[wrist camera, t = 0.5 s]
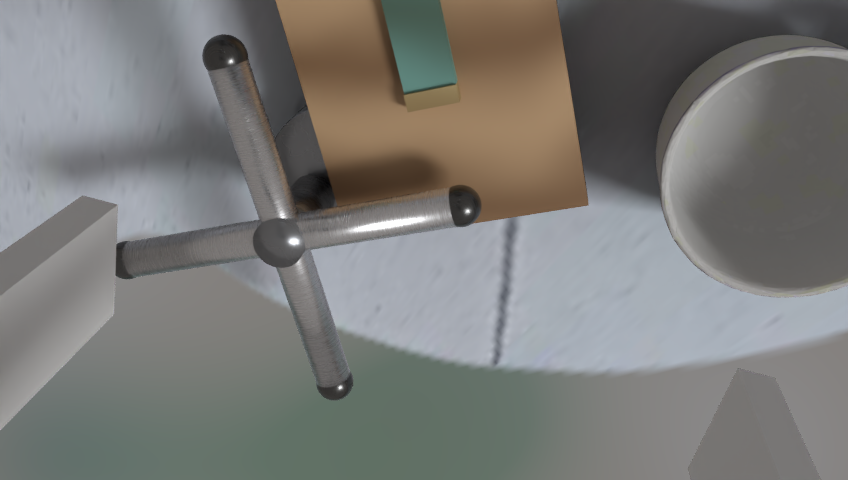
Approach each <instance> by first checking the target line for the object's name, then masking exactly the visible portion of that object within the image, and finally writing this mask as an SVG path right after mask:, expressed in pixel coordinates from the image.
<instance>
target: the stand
mask: <svg viewBox="0 0 848 480" xmlns="http://www.w3.org/2000/svg"><path fill="white" fill-rule="evenodd" d="M275 1H276V4H277V7H278V11H279V14H280V17H281V21H282V24H283V27H284V30H285V34H286V37H287V40H288V44H289V47H290V50H291V54H292V57H293V60H294V64H295V67H296V70H297V74H298V77H299V80H300V83H301V87H302V90H303V93H304V97H305V100H306V103H307V107H308V110H309V113H310V117H311V120H312V123H313V127H314V130H315V133H316V136H317V140H318V143H319V146H320V150H321V153H322V156H323V160H324V163H325V166H326V170H327V173H328V176H329V180H330V183H331V186H332V189H333V193H334V196H335V199H336V203H337V206H342V205H348V204H354V203H360V202H366V201H372V200H377V199H383V198H389V197H395V196H401V195H407V194H413V193H419V192H425V191H431V190H437V189H443V188H448V187H452V186H455V185H466V186H469V187H471V188H473V189H474V190H475V191H476V192H477V193H478V195H479V197H480V199H481V204H482V208H481V213H480V215H479V217H478V218H477V220H476V221H475V222H474V223H479V222H485V221H492V220H498V219H504V218H511V217H517V216H524V215H530V214H536V213H543V212H549V211H555V210H562V209H568V208H574V207H581V206H587V205H588V197H587V189H586V182H585V176H584V170H583V164H582V157H581V151H580V145H579V139H578V132H577V126H576V120H575V114H574V107H573V101H572V95H571V89H570V82H569V76H568V70H567V64H566V57H565V51H564V45H563V39H562V32H561V26H560V20H559V14H558V7H557V1H556V0H275ZM472 224H473V223H472Z"/></svg>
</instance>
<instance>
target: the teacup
mask: <svg viewBox="0 0 848 480" xmlns="http://www.w3.org/2000/svg"><path fill="white" fill-rule="evenodd" d="M656 169H657V177H658V182H659V187H660V198H661V206H662V210H663V214H664V217H665V220H666V223H667V226H668V228H669V230H670V233H671V235H672V237H673V239H674V240H675V242H676V243H677V245H678V246H679V248H680V249H681V250H682V252H683V253H684V254H685V255H686V256H687V258H688V259H689V260H690V261H691V262H692V263H693V264H694V265H695V266H696V267H697V268H699V269H700V270H701V271H703V272H704V273H705V274H706V275H708V276H709V277H711V278H713V279H715V280H717V281H718V282H720V283H723V284H725V285H727V286H729V287H731V288H734V289H738V290H740V291H743V292H748V293H752V294H755V295H762V296H769V297H801V296H812V295H817V294H822V293H825V292H829V291H833V290H837V289H840V288H843V287H845V286H848V49H847V48H845V47H842V46H840V45H837V44H834V43H832V42H829V41H825V40H821V39H817V38H813V37H807V36H799V35H776V36H767V37H761V38H756V39H752V40H748V41H745V42H742V43H739V44H737V45H734V46H732V47H730V48H728V49H726V50H724V51H722V52H720V53H718V54H716V55H715V56H713V57H712V58H710V59H709V60H707V61H706V62H704V63H703V64H702V65H701V66H700V67H698V68H697V69H696V70H695V71H694V72H693V73H691V74H690V75H689V76H688V78H687V79H686V80H685V81H684V82H683V83H682V84H681V86H680V87H679V89H678V90H677V91H676V93H675V94H674V96H673V98H672V99H671V101H670V102H669V104H668V107H667V109H666V111H665V113H664V116H663V118H662V121H661V124H660V128H659V131H658V137H657V143H656Z"/></svg>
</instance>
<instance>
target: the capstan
mask: <svg viewBox="0 0 848 480" xmlns="http://www.w3.org/2000/svg"><path fill="white" fill-rule="evenodd" d="M202 56H203V62H204V65H205V67H206V69H207V70H208V73H209V76H210V79H211V82H212V85H213V88H214V90H215V93H216V96H217V99H218V102H219V105H220V108H221V111H222V113H223V116H224V119H225V122H226V125H227V128H228V131H229V133H230V136H231V139H232V142H233V145H234V148H235V151H236V154H237V156H238V159H239V162H240V165H241V168H242V171H243V174H244V177H245V179H246V182H247V185H248V188H249V191H250V194H251V197H252V199H253V202H254V205H255V208H256V211H257V214H258V217H259V220H253V221H247V222H242V223H236V224H230V225H224V226H218V227H212V228H206V229H200V230H194V231H188V232H182V233H177V234H171V235H165V236H159V237H153V238H147V239H141V240H135V241H124V242H120V243H118V244H116V272H115V276H117V277H119V278H122V279H133V278H136V277H140V276H146V275H152V274H159V273H166V272H172V271H178V270H185V269H191V268H197V267H203V266H210V265H217V264H223V263H229V262H236V261H242V260H249V259H255V258H261V259H262V260H263V261H264V262H265V263H267V264H269V265H271V266H274V267H276V268H277V271H278V274H279V277H280V280H281V283H282V286H283V288H284V291H285V294H286V297H287V300H288V303H289V306H290V308H291V311H292V314H293V317H294V320H295V323H296V326H297V329H298V331H299V334H300V337H301V340H302V342H303V346H304V349H305V352H306V354H307V357H308V360H309V363H310V366H311V369H312V372H313V374H314V377H315V380H316V385H317V389H318V391H319V393H320V394H321V395H322V396H323V397H324V398H326V399H329V400H340V399H343V398H344V397H346V396H347V395H348V394H349V393H350V391H351V389H352V386H353V376H352V374H351V372H350V370H349V367H348V364H347V361H346V358H345V355H344V352H343V348H342V346H341V342H340V340H339V336H338V333H337V330H336V327H335V324H334V321H333V318H332V315H331V311H330V308H329V305H328V302H327V299H326V296H325V293H324V290H323V287H322V284H321V281H320V278H319V275H318V272H317V268H316V265H315V262H314V259H313V256H312V253H311V250H312V249H319V248H325V247H331V246H338V245H344V244H351V243H357V242H363V241H370V240H376V239H382V238H389V237H395V236H402V235H408V234H414V233H421V232H427V231H433V230H440V229H446V228H453V227H465V226H469V225H470V224H472V223H474V222H475V221H476V220H477V218H478V217H479V215H480V213H481V208H482V204H481V199H480V197H479V195H478V193H477V192H476V191H475V190H474V189H473V188H471V187H469V186H466V185H455V186H452V187H448V188H443V189H437V190H431V191H425V192H419V193H413V194H407V195H401V196H395V197H389V198H383V199H377V200H372V201H366V202H360V203H354V204H348V205H342V206H337V203H336V199H335V196H334V193H333V189H332V186H331V183H330V180H329V176H328V173H327V170H326V166H325V163H324V160H323V156H322V153H321V150H320V146H319V143H318V140H317V136H316V133H315V130H314V127H313V123H312V120H311V117H310V113H309V110H308V107H307V105H306V106H305V107H304V108H303V109H301V110H300V111H299V112H298V113H297V114H296V115H295V116H294V117H293V118H292V119H291V120H290V121H289V122H288V123H287V124H286V125H285V126H284V127H283V128H282V129H281V130H280V132H279V133H278V135H277V136H276V138H275V139H274V136H273V133H272V130H271V127H270V124H269V121H268V118H267V115H266V112H265V109H264V105H263V102H262V99H261V96H260V93H259V90H258V87H257V84H256V81H255V78H254V75H253V72H252V69H251V65H250V62H249V59H248V53H247V50H246V48H245V46H244V44H243V43H242V42H241V41H240V40H239V39H237V38H236V37H234V36H231V35H226V34H222V35H217V36H215V37H213V38H211V39H210V40H209V41H208V42H207V43H206V45H205V47H204V49H203V55H202Z"/></svg>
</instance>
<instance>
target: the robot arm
mask: <svg viewBox="0 0 848 480" xmlns="http://www.w3.org/2000/svg"><path fill="white" fill-rule="evenodd" d="M117 211H118V205H117V204H113V203H109V202H105V201H102V200H98V199H94V198H90V197H86V196H81V197H80V198H78V199H77V200H75V201H74V202H73V203H71V204H70V205H68V206H67V207H65V208H64V209H63V210H61V211H60V212H58V213H57V214H55V215H54V216H53V217H51V218H50V219H48V220H47V221H45V222H44V223H42V224H41V225H40V226H38V227H37V228H35V229H34V230H32V231H31V232H30V233H28V234H27V235H25V236H24V237H22V238H21V239H19V240H18V241H17V242H15V243H14V244H12V245H11V246H9V247H8V248H7V249H5V250H4V251H2V252H1V253H0V430H1V429H2V428H3V427H4V426H5V425H6V424H7V423H8V422H9V421H10V420H11V419H12V418H13V417H14V415H16V414H17V412H19V410H20V409H22V408H23V407H24V405H25V404H26V403H27V402H28V401H29V400H30V399H31V398H32V397H33V396H34V395H35V394H36V393H37V392H38V391H39V390H40V389H41V388H42V387H43V386H44V385H45V384H46V383H47V382H48V381H49V380H50V379H51V378H52V377H53V376H54V375H55V374H56V373H57V372H58V370H60V369H61V368H62V366H64V365H65V364H66V363H67V362H68V361H69V360H70V359H71V357H73V356H74V354H75V353H76V352H77V351H78V350H79V349H80V348H81V347H82V346H83V345H84V344H85V343H86V342H87V341H88V340H89V339H90V338H91V337H92V336H93V335H94V334H95V333H96V332H97V331H98V330H99V329H100V328H101V327H102V326H103V325H104V324H105V323H106V322H107V321H108V319H110V318H111V317H112V315H114V301H115V272H116V242H117ZM688 471H689V475H690V479H691V480H821V479H820V476H819V474H818V472H817V470H816V467H815V465H814V463H813V461H812V459H811V457H810V454H809V452H808V450H807V447H806V445H805V443H804V441H803V438H802V436H801V434H800V432H799V430H798V428H797V425H796V423H795V421H794V418H793V416H792V414H791V412H790V410H789V407H788V405H787V403H786V401H785V399H784V396H783V394H782V392H781V390H780V387H779V385H778V383H777V381H776V378H774V377H770V376H766V375H762V374H758V373H755V372H751V371H747V370H744V369H740V368H738V369H737V371H736V373H735V375H734V377H733V379H732V381H731V383H730V385H729V387H728V389H727V391H726V393H725V395H724V397H723V399H722V401H721V403H720V405H719V407H718V409H717V411H716V413H715V415H714V417H713V419H712V421H711V423H710V425H709V427H708V429H707V431H706V433H705V435H704V437H703V439H702V441H701V443H700V445H699V447H698V449H697V451H696V453H695V455H694V457H693V459H692V461H691V463H690V465H689V467H688Z"/></svg>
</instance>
